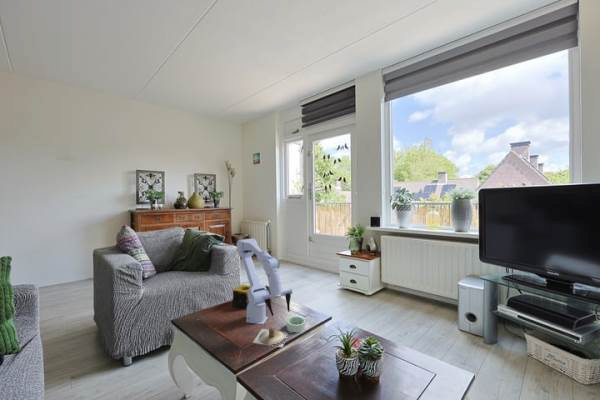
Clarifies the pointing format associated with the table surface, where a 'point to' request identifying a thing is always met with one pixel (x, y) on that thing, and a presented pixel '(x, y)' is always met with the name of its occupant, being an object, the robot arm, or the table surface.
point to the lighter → (268, 291)
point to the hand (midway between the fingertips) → (280, 313)
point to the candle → (240, 297)
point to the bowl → (296, 324)
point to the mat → (257, 340)
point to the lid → (271, 336)
